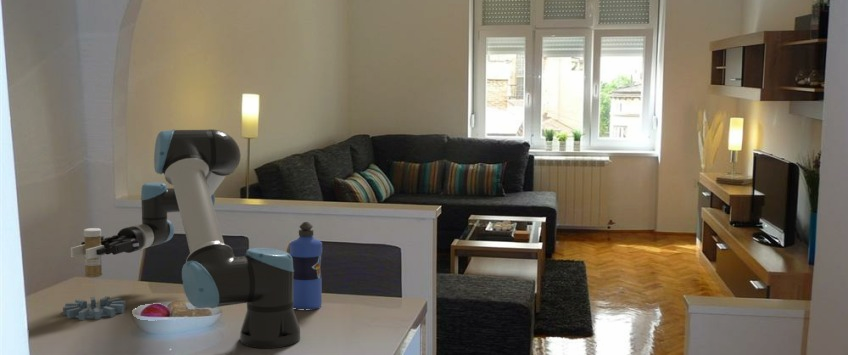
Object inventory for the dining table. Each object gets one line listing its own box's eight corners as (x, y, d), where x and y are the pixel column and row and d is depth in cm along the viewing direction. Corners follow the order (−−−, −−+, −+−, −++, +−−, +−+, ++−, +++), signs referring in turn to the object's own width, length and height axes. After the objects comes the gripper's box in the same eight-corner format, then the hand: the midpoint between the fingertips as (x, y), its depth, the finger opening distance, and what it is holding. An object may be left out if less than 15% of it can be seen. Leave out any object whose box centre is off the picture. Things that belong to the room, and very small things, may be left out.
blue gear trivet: (110, 321, 218) (110, 313, 218) (51, 319, 219) (51, 311, 219) (135, 304, 235) (135, 297, 235) (80, 302, 236) (80, 295, 235)
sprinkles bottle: (84, 278, 223) (82, 230, 222) (85, 274, 227) (84, 227, 226) (101, 277, 224) (100, 230, 223) (103, 273, 229) (101, 227, 227)
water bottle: (325, 302, 240) (325, 220, 237) (317, 311, 231) (318, 226, 228) (294, 301, 241) (294, 219, 238) (286, 310, 232) (286, 224, 229)
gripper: (159, 253, 240) (106, 269, 218) (110, 248, 245) (54, 264, 223) (158, 228, 239) (105, 242, 217) (110, 224, 244) (53, 237, 222)
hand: (79, 253), depth 220 cm, fingers closed on sprinkles bottle, 4 cm apart
